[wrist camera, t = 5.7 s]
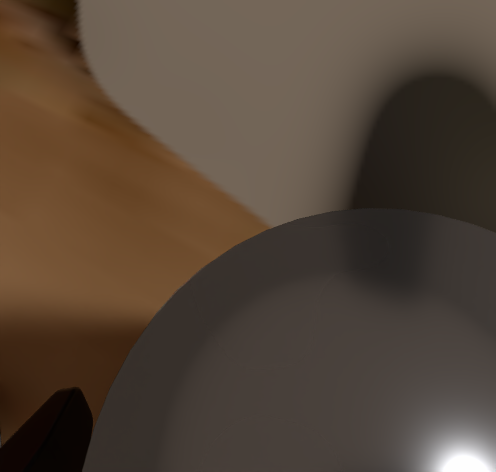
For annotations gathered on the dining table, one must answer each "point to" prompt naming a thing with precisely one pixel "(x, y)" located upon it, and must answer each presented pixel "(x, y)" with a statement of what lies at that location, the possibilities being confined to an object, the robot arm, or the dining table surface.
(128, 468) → the canister
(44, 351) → the dining table surface
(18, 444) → the robot arm
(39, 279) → the dining table surface
